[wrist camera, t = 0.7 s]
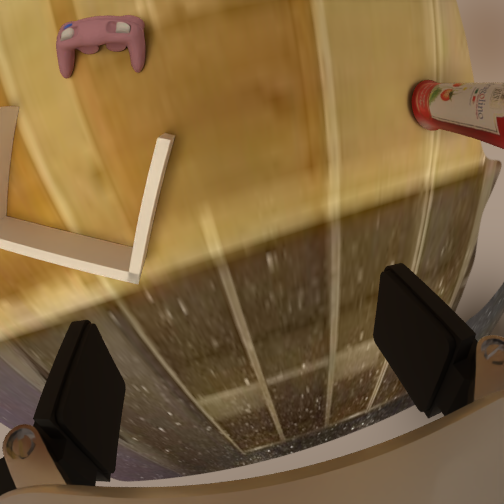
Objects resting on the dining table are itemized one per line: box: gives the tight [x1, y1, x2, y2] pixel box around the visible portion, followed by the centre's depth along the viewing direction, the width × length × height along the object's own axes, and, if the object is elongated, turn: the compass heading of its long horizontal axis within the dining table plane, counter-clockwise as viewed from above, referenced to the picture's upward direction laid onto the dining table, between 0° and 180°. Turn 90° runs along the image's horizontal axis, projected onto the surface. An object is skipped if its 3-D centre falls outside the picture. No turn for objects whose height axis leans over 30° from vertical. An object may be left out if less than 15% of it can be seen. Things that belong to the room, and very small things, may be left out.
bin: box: [0, 106, 175, 284], centre depth 30 cm, size 15×21×6 cm
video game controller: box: [56, 15, 146, 78], centre depth 24 cm, size 10×5×7 cm, turn 84°
